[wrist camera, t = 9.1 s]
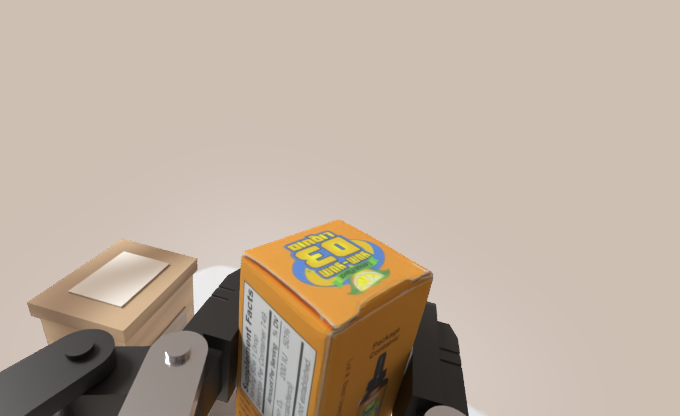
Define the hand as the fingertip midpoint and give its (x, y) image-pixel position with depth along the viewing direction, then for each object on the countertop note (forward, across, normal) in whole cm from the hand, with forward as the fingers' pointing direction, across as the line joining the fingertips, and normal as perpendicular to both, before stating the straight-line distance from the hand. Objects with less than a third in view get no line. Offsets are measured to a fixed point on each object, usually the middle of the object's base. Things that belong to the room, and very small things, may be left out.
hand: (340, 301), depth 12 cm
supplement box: (-3, 0, +7) cm, 7 cm away
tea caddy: (+4, +11, +14) cm, 19 cm away
